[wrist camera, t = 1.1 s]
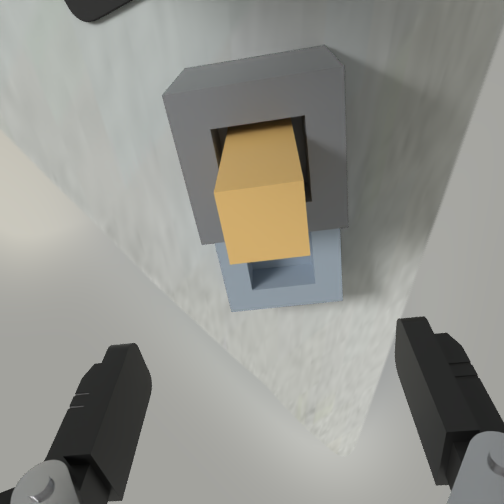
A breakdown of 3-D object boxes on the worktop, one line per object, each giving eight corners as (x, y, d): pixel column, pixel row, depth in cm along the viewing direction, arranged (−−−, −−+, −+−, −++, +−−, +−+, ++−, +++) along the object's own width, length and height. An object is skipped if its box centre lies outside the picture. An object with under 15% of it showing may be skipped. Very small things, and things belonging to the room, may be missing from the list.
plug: (228, 124, 26) (213, 192, 18) (290, 115, 26) (303, 180, 18) (241, 191, 29) (233, 277, 21) (297, 184, 29) (311, 268, 20)
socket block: (184, 68, 29) (162, 95, 22) (324, 45, 28) (344, 66, 21) (234, 284, 40) (228, 345, 33) (335, 273, 39) (350, 333, 32)
